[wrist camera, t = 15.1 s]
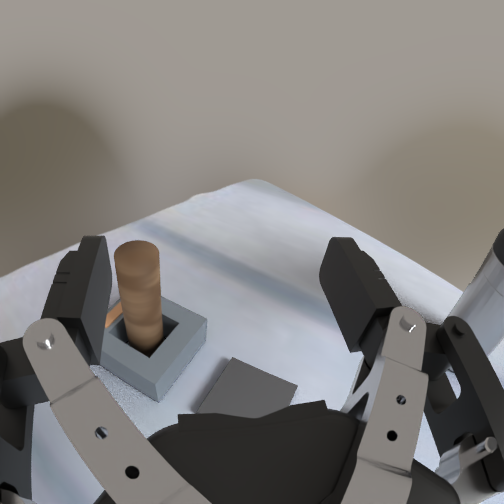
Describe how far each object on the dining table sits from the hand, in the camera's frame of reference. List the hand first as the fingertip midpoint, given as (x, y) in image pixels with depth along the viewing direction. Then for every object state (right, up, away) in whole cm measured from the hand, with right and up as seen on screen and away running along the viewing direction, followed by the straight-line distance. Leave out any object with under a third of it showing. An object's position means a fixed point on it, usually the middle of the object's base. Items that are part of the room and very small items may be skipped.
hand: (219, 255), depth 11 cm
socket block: (-11, -11, +24) cm, 28 cm away
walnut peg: (-11, -11, +24) cm, 28 cm away
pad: (+1, -16, +20) cm, 26 cm away
